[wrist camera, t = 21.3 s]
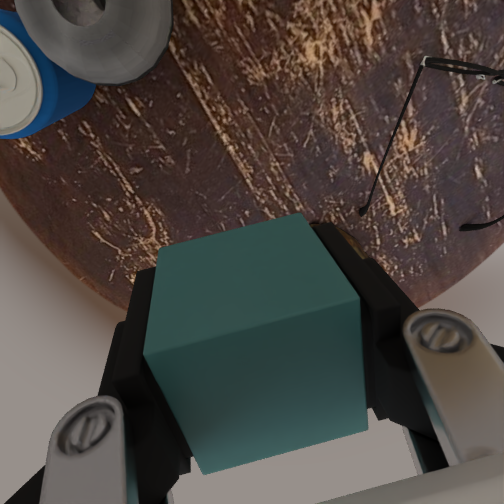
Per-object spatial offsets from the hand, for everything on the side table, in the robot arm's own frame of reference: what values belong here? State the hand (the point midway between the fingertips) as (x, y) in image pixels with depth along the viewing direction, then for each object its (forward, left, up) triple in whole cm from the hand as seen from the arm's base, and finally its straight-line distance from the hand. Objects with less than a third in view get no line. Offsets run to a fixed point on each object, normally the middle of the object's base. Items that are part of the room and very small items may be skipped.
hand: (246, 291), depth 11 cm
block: (0, 0, 0) cm, 0 cm away
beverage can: (-13, +1, -26) cm, 28 cm away
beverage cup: (-8, +6, -26) cm, 27 cm away
